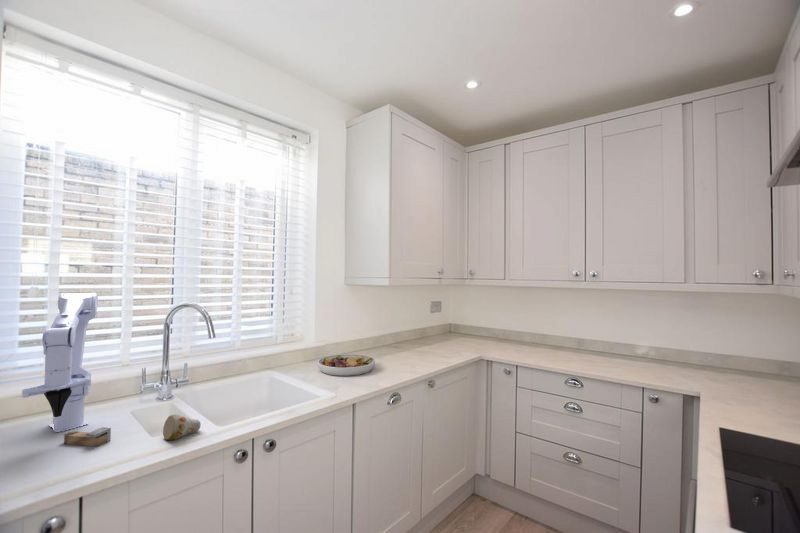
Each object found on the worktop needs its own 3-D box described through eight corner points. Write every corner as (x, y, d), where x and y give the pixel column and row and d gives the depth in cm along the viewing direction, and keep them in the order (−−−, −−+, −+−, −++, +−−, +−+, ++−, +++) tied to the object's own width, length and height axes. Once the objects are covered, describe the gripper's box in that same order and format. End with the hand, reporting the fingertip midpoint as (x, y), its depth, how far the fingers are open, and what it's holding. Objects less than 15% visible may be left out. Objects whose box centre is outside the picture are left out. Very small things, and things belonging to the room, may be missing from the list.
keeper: (85, 447, 106) (86, 433, 106) (102, 440, 110) (102, 427, 111) (94, 448, 105) (94, 434, 105) (110, 441, 110) (110, 427, 110)
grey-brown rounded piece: (207, 433, 117) (194, 411, 112) (174, 455, 111) (160, 433, 106) (198, 421, 122) (186, 399, 117) (167, 441, 116) (153, 420, 111)
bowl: (327, 362, 211) (327, 348, 211) (379, 364, 208) (379, 350, 208) (309, 376, 181) (309, 360, 181) (369, 379, 178) (369, 362, 179)
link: (61, 443, 108) (61, 433, 108) (71, 439, 111) (71, 428, 111) (97, 446, 106) (98, 435, 106) (107, 441, 109) (107, 431, 109)
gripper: (26, 376, 99) (25, 427, 99) (94, 366, 111) (93, 411, 111) (20, 372, 103) (19, 421, 103) (86, 362, 115) (85, 406, 115)
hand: (57, 416), depth 107 cm, fingers closed
